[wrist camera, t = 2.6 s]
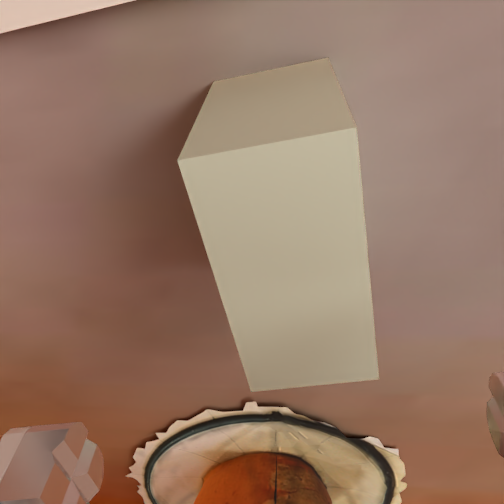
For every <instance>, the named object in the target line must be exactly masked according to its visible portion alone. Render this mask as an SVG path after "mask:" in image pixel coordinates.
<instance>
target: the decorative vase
mask: <svg viewBox="0 0 504 504" xmlns="http://www.w3.org/2000/svg"><path fill="white" fill-rule="evenodd" d="M156 435H157V436H158V438H159V439H158V440H155V441H150V442H146V446H145V449H144V448H137V449H136V452H135V454H134V456H133V459H134V460H135V461H136V463H135V464H134V465H132V466H131V467H129V469H130V470H131V472H132V473H130V474H128V475H126V477H132V478H134V479H136V480H137V481H138V482H139V483H140V484H141V485H140V486H137V487H139V488H140V489H139V490H138V491H137V492H138V493H139V494H140V495H141V496H142V497H143V500H144V503H145V504H400V503H401V502H402V500H401V497H400V492H402V491H403V490H404V489H405V488H407V483H404V482H401V480H402V478H403V477H404V476H405V475H406V473H405V466H404V463H403V461H402V460H401V459H400V458H399V451H398V449H392V448H384V446H383V445H382V443H381V442H380V440H379V439H378V438H375V437H371V436H370V437H366V438H363V439H356V438H346V437H345V436H344V435H343V434H342V433H341V432H340V431H339V430H338V429H337V428H336V427H334V426H332V425H329V424H327V423H325V422H319V421H314V420H311V419H309V418H307V417H305V416H303V415H298V414H295V413H294V412H292V411H291V410H290V409H289V408H287V407H258V406H257V403H256V402H246V404H245V407H244V409H243V411H230V412H220V411H215V410H210V409H207V410H205V411H204V412H202V413H201V414H199V415H197V416H195V417H193V418H192V419H190V420H188V421H183V420H177V421H176V422H175V423H173V424H172V425H171V426H170V427H169V429H168V431H167V432H166V433H156Z"/></svg>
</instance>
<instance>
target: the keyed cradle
mask: <svg viewBox="0 0 504 504" xmlns="http://www.w3.org/2000/svg"><path fill="white" fill-rule="evenodd" d="M130 1H135V0H0V33H4V32H8V31H12V30H16V29H20V28H24V27H28V26H32V25H36V24H41V23H45V22H49V21H53V20H57V19H61V18H65V17H69V16H73V15H77V14H81V13H86V12H90V11H94V10H98V9H102V8H106V7H110V6H114V5H118V4H122V3H126V2H130Z"/></svg>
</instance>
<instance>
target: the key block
mask: <svg viewBox="0 0 504 504" xmlns="http://www.w3.org/2000/svg"><path fill="white" fill-rule="evenodd" d="M177 162H178V165H179V168H180V171H181V174H182V177H183V180H184V183H185V187H186V190H187V193H188V196H189V199H190V202H191V205H192V209H193V212H194V215H195V218H196V221H197V224H198V227H199V230H200V234H201V237H202V240H203V243H204V246H205V249H206V252H207V256H208V259H209V262H210V265H211V268H212V271H213V274H214V278H215V281H216V284H217V287H218V290H219V293H220V296H221V299H222V303H223V306H224V309H225V312H226V315H227V318H228V321H229V325H230V328H231V331H232V334H233V337H234V340H235V343H236V346H237V350H238V353H239V356H240V359H241V362H242V365H243V368H244V372H245V375H246V378H247V381H248V384H249V387H250V390H251V392H257V391H267V390H277V389H287V388H297V387H307V386H317V385H327V384H337V383H347V382H357V381H367V380H377V379H379V372H378V361H377V350H376V338H375V327H374V316H373V305H372V293H371V282H370V271H369V260H368V248H367V237H366V226H365V215H364V203H363V192H362V181H361V170H360V158H359V147H358V136H357V127H356V124H355V122H354V119H353V117H352V114H351V112H350V110H349V107H348V105H347V102H346V100H345V97H344V95H343V92H342V90H341V87H340V85H339V83H338V80H337V78H336V75H335V73H334V70H333V68H332V65H331V63H330V60H329V58H323V59H318V60H314V61H309V62H304V63H299V64H295V65H290V66H285V67H280V68H276V69H271V70H266V71H261V72H256V73H252V74H247V75H242V76H237V77H233V78H228V79H223V80H218V81H214V82H213V84H212V86H211V88H210V90H209V92H208V94H207V97H206V99H205V101H204V103H203V105H202V107H201V110H200V112H199V114H198V116H197V118H196V121H195V123H194V125H193V127H192V129H191V131H190V134H189V136H188V138H187V140H186V142H185V145H184V147H183V149H182V151H181V153H180V155H179V158H178V160H177Z"/></svg>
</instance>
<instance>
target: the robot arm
mask: <svg viewBox="0 0 504 504" xmlns="http://www.w3.org/2000/svg"><path fill="white" fill-rule="evenodd" d="M489 389H490V391H491V393H492V395H493V398H491V399H490V400H489V401H488V402H487V420H488V426H489V430H490V433H491V436H492V439H493V442H494V444H495V446H496V449H497V451H498V453H499V454H500V455H501V456H502V457H504V372H498V373H492V375H491V376H490V379H489ZM88 432H89V431H88V430H87V429H86V427H85V426H84V425H83V423H82V422H75V423H63V424H51V425H40V426H29V427H20V428H11V429H10V430H9V431H7V432H6V433H5V434H4V435H3V436H2V438H1V440H0V504H90V503H89V501H90V500H91V499H92V498H93V497H94V496H95V495H96V494H97V493H98V491H99V490H100V487H101V483H102V480H103V476H104V459H103V455H102V452H101V450H100V448H99V447H98V445H97V444H95V443H93V442H91V441H90V440H88V439H86V437H87V435H88Z"/></svg>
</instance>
